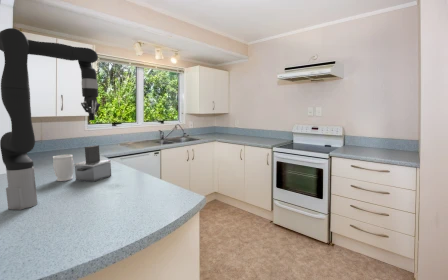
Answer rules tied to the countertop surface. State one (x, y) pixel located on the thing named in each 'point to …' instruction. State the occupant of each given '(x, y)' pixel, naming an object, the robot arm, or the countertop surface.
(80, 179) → the grey rectangular container
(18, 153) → the robot arm
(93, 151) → the lid
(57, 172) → the jar
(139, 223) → the countertop surface
